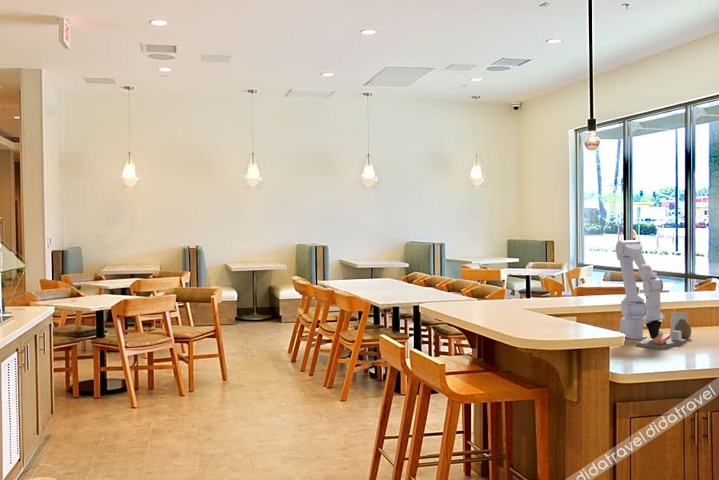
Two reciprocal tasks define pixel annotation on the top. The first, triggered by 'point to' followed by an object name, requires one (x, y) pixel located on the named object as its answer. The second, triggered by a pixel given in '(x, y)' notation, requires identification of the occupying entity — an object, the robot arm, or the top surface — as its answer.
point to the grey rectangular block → (677, 319)
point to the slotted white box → (676, 335)
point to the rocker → (661, 338)
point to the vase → (683, 328)
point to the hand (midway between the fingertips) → (653, 338)
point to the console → (666, 344)
